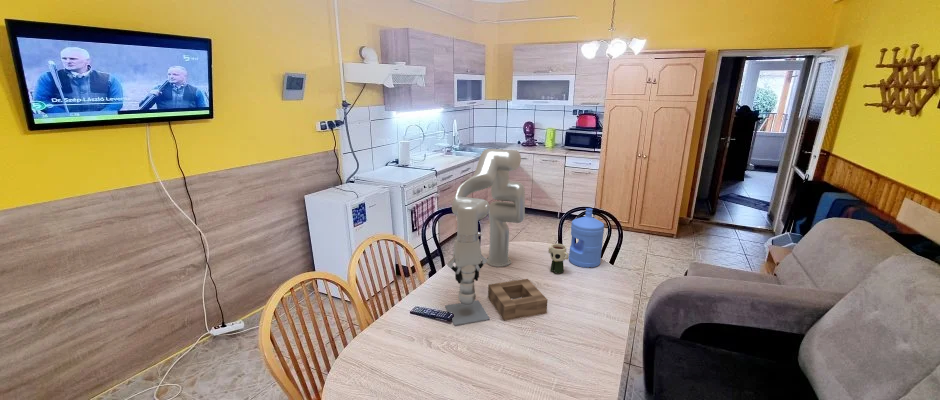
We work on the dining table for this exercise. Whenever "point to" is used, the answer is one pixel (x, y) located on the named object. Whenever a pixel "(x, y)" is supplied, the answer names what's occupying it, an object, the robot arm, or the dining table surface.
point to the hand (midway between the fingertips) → (467, 280)
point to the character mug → (558, 257)
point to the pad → (467, 313)
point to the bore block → (521, 307)
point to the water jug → (586, 241)
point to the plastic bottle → (467, 285)
